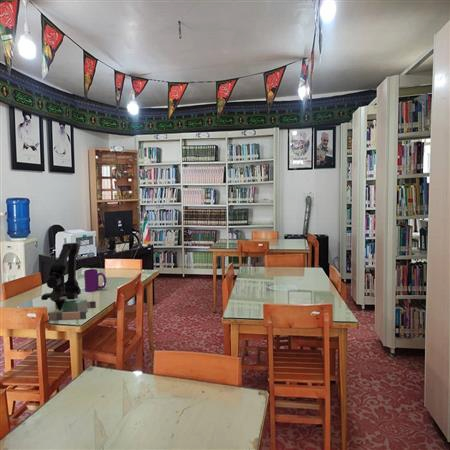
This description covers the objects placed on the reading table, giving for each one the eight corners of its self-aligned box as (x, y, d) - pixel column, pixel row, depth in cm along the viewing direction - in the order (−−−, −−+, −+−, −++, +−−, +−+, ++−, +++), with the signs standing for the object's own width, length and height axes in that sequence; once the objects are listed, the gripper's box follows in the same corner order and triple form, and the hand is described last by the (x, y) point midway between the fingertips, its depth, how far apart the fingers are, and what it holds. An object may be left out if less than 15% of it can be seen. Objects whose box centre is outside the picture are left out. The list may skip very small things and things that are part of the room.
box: (72, 308, 219) (71, 296, 218) (87, 311, 213) (87, 299, 212) (61, 312, 212) (61, 299, 212) (77, 315, 206) (77, 302, 206)
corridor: (56, 308, 219) (55, 302, 219) (95, 307, 221) (95, 301, 220) (42, 320, 199) (41, 313, 199) (85, 318, 201) (85, 312, 201)
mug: (88, 288, 264) (87, 269, 263) (108, 288, 264) (107, 268, 263) (83, 292, 255) (82, 271, 254) (104, 292, 255) (103, 271, 254)
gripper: (36, 287, 199) (37, 315, 200) (70, 287, 200) (71, 314, 201) (45, 283, 210) (46, 309, 211) (77, 283, 211) (78, 308, 212)
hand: (60, 310), depth 208 cm, fingers closed
